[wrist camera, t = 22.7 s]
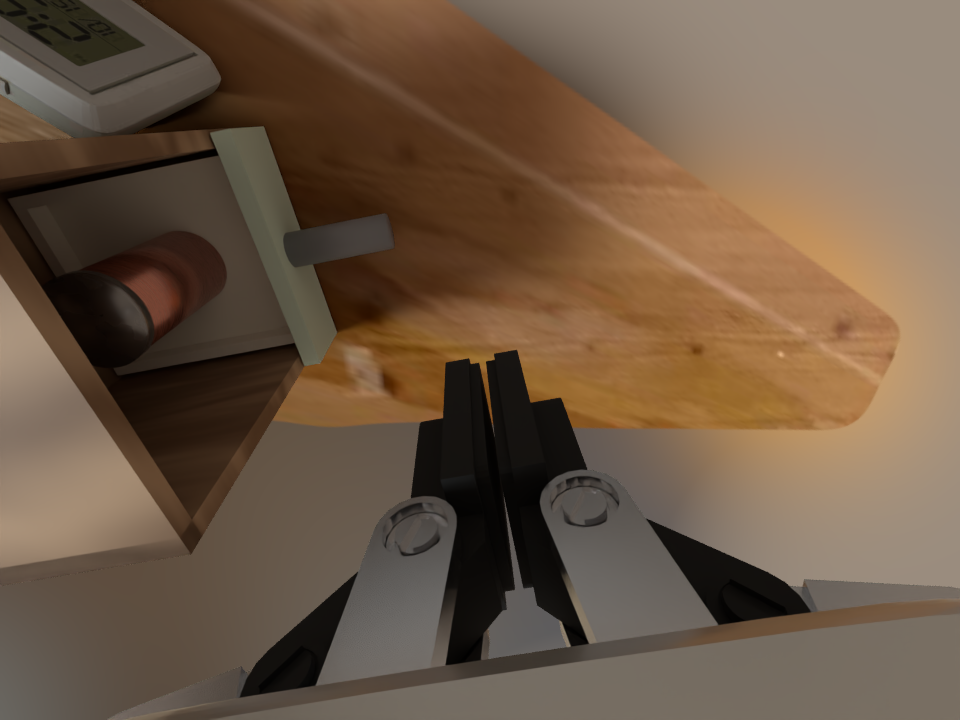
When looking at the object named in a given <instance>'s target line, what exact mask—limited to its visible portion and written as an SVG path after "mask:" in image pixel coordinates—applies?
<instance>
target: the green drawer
mask: <svg viewBox="0 0 960 720" xmlns="http://www.w3.org/2000/svg"><path fill="white" fill-rule="evenodd" d="M210 135H211V137H212V140H213V142H214V145H215V147H216V150H217V152H218V154H219V155H218V156H214V157H209V158H204V159H199V160H194V161H189V162H184V163H180V164H175V165H170V166H165V167H160V168H155V169H150V170H145V171H141V172H136V173H131V174H126V175H121V176H116V177H111V178H107V179H102V180H97V181H92V182H87V183H82V184H77V185H73V186H68V187H63V188H58V189H53V190H48V191H43V192H38V193H34V194H29V195H24V196H19V197H14V198H9V199H8V201H9V203H10V204H11V206H12V207H13V209H14V211H15V212H16V214H17V215H18V217H19V219H20V220H21V222H22V223H23V225H24V227H25V228H26V230H27V231H28V233H29V235H30V236H31V238H32V239H33V241H34V243H35V244H36V246H37V247H38V249H39V251H40V252H41V254H42V255H43V257H44V259H45V260H46V262H47V263H48V265H49V267H50V268H51V270H52V271H53V273H54V275H55V276H56V277H58V276H61V275H63V274H65V273H68V272H72V271H78V270H80V269H83V268H85V267H87V266H90V265H92V264H94V263H97V262H99V261H101V260H104V259H106V258H108V257H111V256H113V255H116V254H118V253H120V252H123V251H125V250H127V249H130V248H132V247H134V246H137V245H139V244H141V243H144V242H146V241H149V240H151V239H153V238H156V237H158V236H160V235H163V234H165V233H168V232H171V231H186V232H191V233H193V234H196V235H198V236H200V237H202V238H204V239H205V240H207V241H208V242H209V243H210V244H212V245H213V246H214V247H215V249H216V250H217V251H218V252H219V254H220V255H221V257H222V259H223V261H224V263H225V267H226V272H227V279H226V283H225V286H224V288H223V290H222V291H221V292H220V293H219V294H218V295H217V296H216V297H214V298H213V299H212V300H210V301H209V302H208V303H206V304H205V305H204V306H203V307H201V308H200V309H199V310H197V311H196V312H195V313H193V314H192V315H191V316H189V317H188V318H187V319H185V320H184V321H183V322H182V323H180V324H179V325H178V326H176V327H175V328H174V329H172V330H171V331H170V332H168V333H167V334H166V335H165V336H163V337H162V338H161V339H159V340H158V341H157V342H155V343H154V344H153V345H151V346H150V347H149V349H148V350H147V351H146V352H145V353H144V354H143V355H141V356H140V357H139V358H138V359H136V360H135V361H133V362H132V363H130V364H128V365H126V366H122V367H117V368H113V369H114V370H115V372H116V374H117V375H118V376H119V375H125V374H130V373H135V372H141V371H146V370H152V369H157V368H162V367H168V366H173V365H178V364H184V363H189V362H195V361H200V360H205V359H211V358H216V357H222V356H227V355H232V354H238V353H243V352H249V351H254V350H259V349H265V348H270V347H276V346H281V345H286V344H292V343H295V344H296V346H297V349H298V351H299V354H300V356H301V359H302V361H303V364H304V366H307V365H313V364H318V363H321V361H322V359H323V357H324V356H325V354H326V352H327V350H328V348H329V346H330V345H331V343H332V341H333V339H334V337H335V335H336V334H337V331H336V328H335V325H334V323H333V320H332V317H331V314H330V311H329V308H328V306H327V303H326V300H325V297H324V294H323V292H322V289H321V286H320V283H319V280H318V278H317V275H316V272H315V269H314V266H313V264H317V263H322V262H327V261H332V260H338V259H343V258H348V257H353V256H358V255H363V254H369V253H374V252H379V251H384V250H389V249H394V247H395V243H394V235H393V231H392V227H391V223H390V220H389V218H388V216H387V214H386V213H384V214H379V215H374V216H369V217H364V218H359V219H354V220H349V221H343V222H338V223H333V224H328V225H323V226H318V227H313V228H308V229H303V230H300V227H299V224H298V221H297V218H296V216H295V213H294V210H293V207H292V204H291V202H290V199H289V196H288V193H287V190H286V188H285V185H284V182H283V179H282V176H281V174H280V171H279V168H278V165H277V162H276V159H275V157H274V154H273V151H272V148H271V145H270V143H269V140H268V137H267V134H266V131H265V129H264V126H261V127H246V128H232V129H226V130H221V131H216V132H211V133H210Z"/></svg>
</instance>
